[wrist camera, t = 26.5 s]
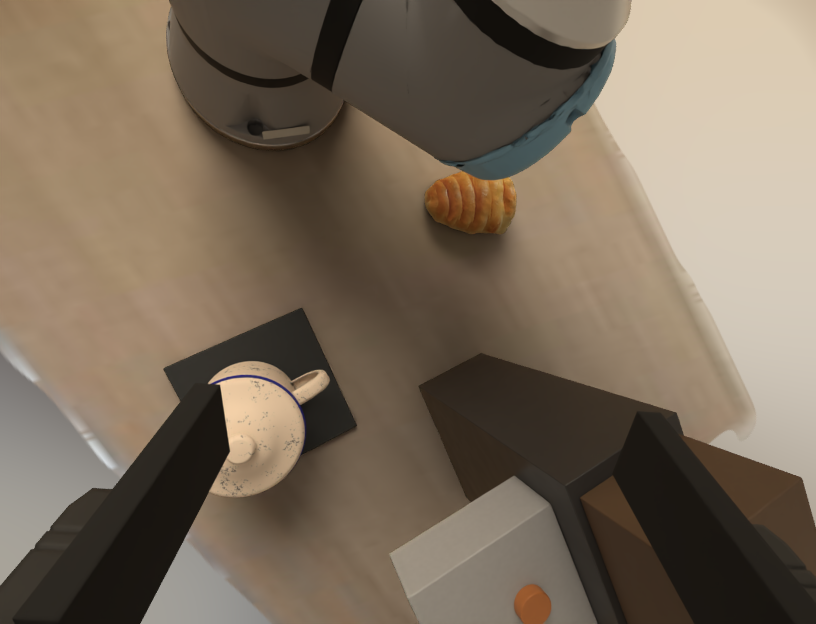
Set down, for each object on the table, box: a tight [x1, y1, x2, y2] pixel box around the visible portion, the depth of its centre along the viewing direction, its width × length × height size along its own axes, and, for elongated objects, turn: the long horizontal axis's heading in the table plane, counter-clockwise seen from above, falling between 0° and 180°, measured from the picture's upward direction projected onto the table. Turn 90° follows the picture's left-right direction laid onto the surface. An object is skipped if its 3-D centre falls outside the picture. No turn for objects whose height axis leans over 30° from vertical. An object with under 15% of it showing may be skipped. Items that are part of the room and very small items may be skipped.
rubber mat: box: [164, 308, 357, 455], centre depth 40 cm, size 13×13×1 cm
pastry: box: [425, 171, 516, 234], centre depth 43 cm, size 9×7×4 cm
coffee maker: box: [389, 353, 816, 624], centre depth 31 cm, size 18×14×30 cm
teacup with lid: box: [208, 361, 330, 498], centre depth 34 cm, size 12×9×12 cm
